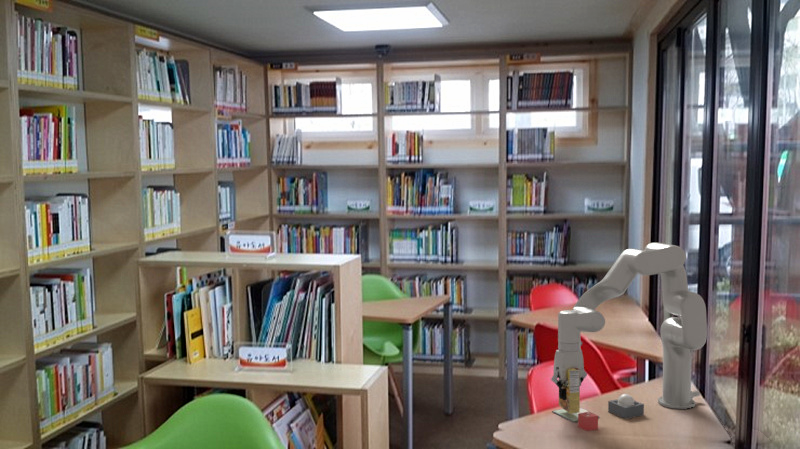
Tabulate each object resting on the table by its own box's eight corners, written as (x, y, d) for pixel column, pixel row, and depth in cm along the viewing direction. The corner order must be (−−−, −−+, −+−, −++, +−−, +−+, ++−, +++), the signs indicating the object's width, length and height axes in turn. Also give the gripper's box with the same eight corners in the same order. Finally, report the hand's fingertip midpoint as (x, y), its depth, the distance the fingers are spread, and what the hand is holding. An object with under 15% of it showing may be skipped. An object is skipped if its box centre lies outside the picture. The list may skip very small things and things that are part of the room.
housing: (626, 407, 253) (626, 397, 253) (643, 414, 245) (643, 404, 245) (608, 411, 249) (608, 401, 249) (625, 418, 242) (625, 408, 242)
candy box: (558, 405, 250) (557, 363, 248) (569, 404, 250) (568, 362, 249) (569, 414, 241) (568, 370, 240) (580, 412, 242) (580, 369, 241)
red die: (588, 424, 237) (588, 411, 237) (597, 428, 233) (598, 415, 233) (578, 426, 235) (578, 413, 235) (587, 431, 231) (587, 417, 231)
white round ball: (626, 406, 251) (626, 390, 251) (637, 411, 246) (637, 395, 246) (614, 408, 249) (614, 393, 248) (625, 413, 244) (625, 397, 243)
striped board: (576, 407, 255) (576, 405, 254) (599, 417, 244) (599, 416, 244) (552, 412, 250) (552, 410, 250) (573, 422, 239) (573, 421, 239)
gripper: (581, 341, 251) (581, 391, 252) (542, 347, 244) (542, 398, 245) (595, 345, 244) (595, 397, 245) (556, 351, 237) (556, 404, 238)
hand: (569, 397), depth 245 cm, fingers closed on candy box, 5 cm apart
